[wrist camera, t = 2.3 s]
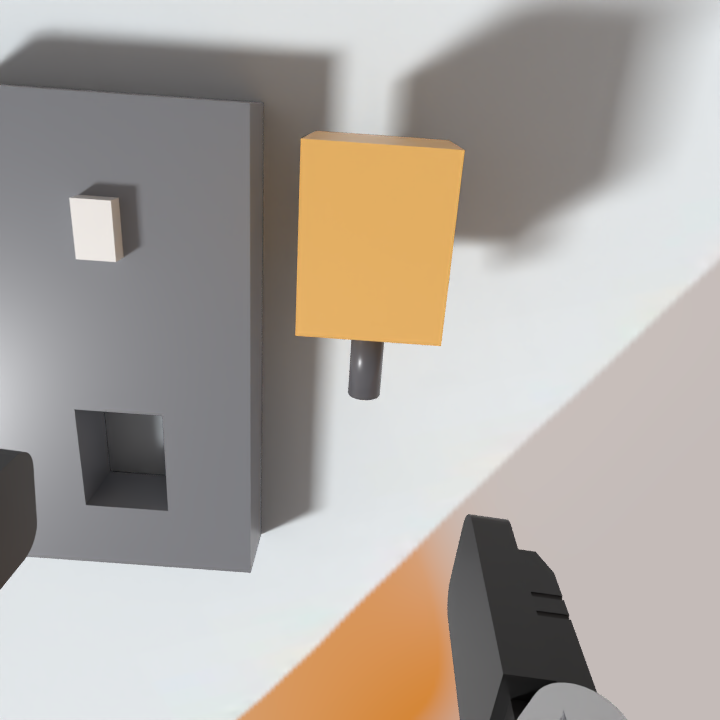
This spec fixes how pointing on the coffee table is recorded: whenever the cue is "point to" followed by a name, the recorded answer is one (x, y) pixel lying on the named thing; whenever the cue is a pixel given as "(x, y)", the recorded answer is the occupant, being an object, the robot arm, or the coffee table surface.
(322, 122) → the coffee table surface
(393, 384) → the coffee table surface
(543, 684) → the robot arm
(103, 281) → the socket board
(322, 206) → the plug
